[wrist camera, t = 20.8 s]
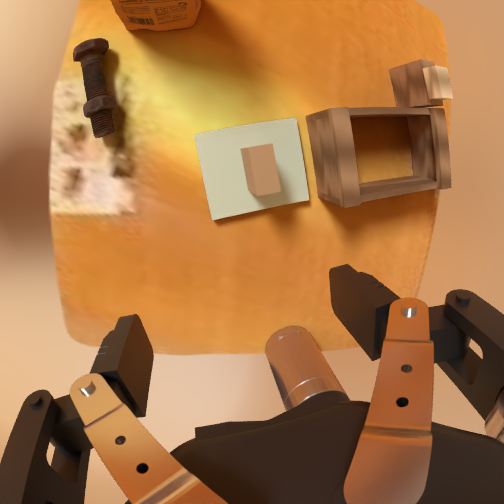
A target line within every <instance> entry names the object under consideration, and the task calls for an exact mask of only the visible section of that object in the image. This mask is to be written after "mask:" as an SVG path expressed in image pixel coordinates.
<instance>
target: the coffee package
mask: <svg viewBox="0 0 504 504" xmlns="http://www.w3.org/2000/svg"><path fill="white" fill-rule="evenodd" d="M111 2H112V4H113V7H114V9H115V12H116V13H117V15H118V16H119V17H120V19H121V21H122V22H123V23H124V25H125V27H126V29H127V30H138V29H149V30H154V31H167V30H172V29H180V28H189V27H192V26H193V25H194V24H195V22H196V19H197V16H198V14H199V11H200V8H201V0H111Z"/></svg>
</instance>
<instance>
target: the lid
mask: <svg viewBox="0 0 504 504" xmlns="http://www.w3.org/2000/svg"><path fill="white" fill-rule="evenodd" d="M194 136H195V141H196V146H197V151H198V156H199V161H200V166H201V171H202V175H203V180H204V185H205V189H206V194H207V199H208V203H209V208H210V212H211V217H212V220H216V219H221V218H225V217H230V216H234V215H239V214H243V213H248V212H253V211H257V210H262V209H267V208H272V207H276V206H281V205H286V204H291V203H296V202H301V201H306V200H309V194H308V187H307V180H306V174H305V167H304V161H303V154H302V148H301V142H300V136H299V131H298V125H297V120H296V118H289V119H281V120H274V121H266V122H260V123H253V124H247V125H241V126H235V127H230V128H224V129H219V130H214V131H209V132H204V133H200V134H195V135H194Z"/></svg>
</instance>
